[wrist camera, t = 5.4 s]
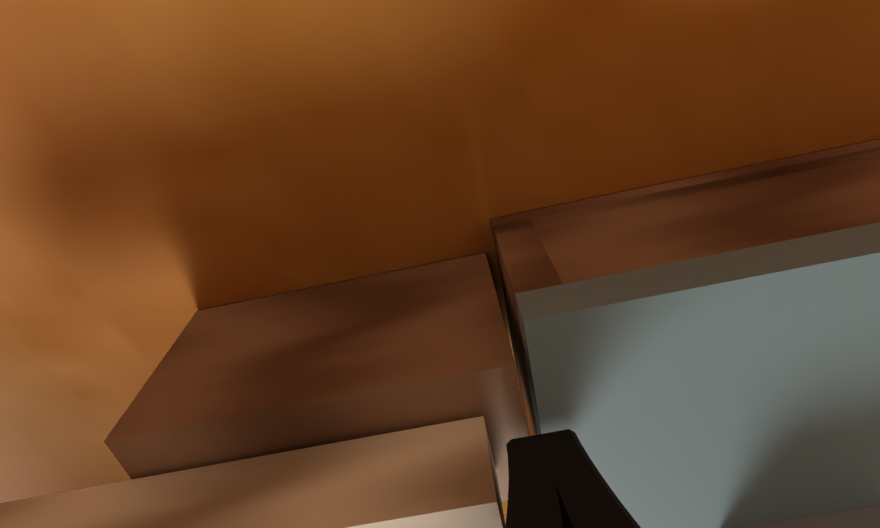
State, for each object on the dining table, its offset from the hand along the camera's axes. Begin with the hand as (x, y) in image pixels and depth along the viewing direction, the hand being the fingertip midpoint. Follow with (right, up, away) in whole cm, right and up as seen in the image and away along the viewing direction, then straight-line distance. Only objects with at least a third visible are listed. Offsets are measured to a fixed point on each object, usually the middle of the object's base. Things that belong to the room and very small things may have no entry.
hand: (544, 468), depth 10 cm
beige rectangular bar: (-7, -1, +1) cm, 7 cm away
